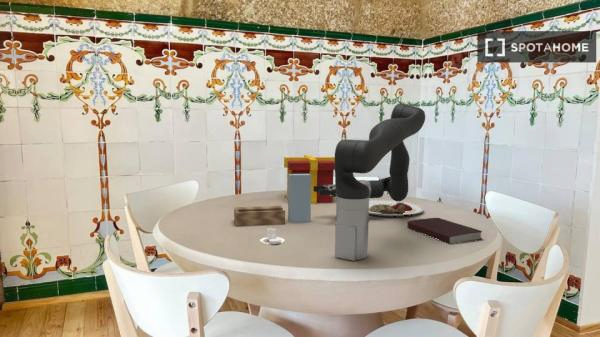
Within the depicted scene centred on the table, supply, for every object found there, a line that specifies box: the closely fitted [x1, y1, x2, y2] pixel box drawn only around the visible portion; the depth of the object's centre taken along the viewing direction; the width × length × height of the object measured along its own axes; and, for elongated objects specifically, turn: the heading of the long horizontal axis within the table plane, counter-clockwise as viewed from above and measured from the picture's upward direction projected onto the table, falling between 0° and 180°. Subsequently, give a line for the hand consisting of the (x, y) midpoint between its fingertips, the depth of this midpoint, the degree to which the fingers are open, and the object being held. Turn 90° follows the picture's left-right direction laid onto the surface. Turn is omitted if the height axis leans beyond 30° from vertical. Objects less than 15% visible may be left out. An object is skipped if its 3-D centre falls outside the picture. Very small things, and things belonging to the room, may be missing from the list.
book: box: [406, 217, 483, 245], centre depth 150 cm, size 14×22×4 cm, turn 23°
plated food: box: [369, 199, 425, 217], centre depth 187 cm, size 30×30×3 cm
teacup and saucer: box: [259, 227, 286, 245], centre depth 140 cm, size 9×8×4 cm
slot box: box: [233, 205, 286, 227], centre depth 164 cm, size 18×9×5 cm, turn 102°
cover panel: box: [287, 174, 312, 224], centre depth 165 cm, size 8×3×18 cm, turn 102°
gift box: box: [283, 154, 335, 205], centre depth 209 cm, size 25×25×20 cm
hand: (316, 190), depth 166 cm, fingers open, 8 cm apart
